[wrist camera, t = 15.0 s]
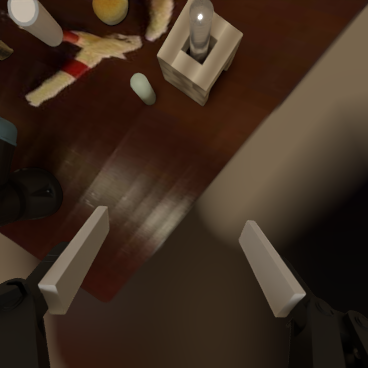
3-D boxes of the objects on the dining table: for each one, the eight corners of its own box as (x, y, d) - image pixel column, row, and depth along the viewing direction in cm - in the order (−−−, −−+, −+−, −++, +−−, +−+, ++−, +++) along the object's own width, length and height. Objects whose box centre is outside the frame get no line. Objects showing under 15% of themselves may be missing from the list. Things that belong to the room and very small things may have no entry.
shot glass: (34, 37, 39) (1, 11, 32) (47, 12, 38) (15, -21, 31) (57, 55, 40) (28, 33, 33) (70, 30, 39) (43, 2, 32)
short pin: (140, 99, 40) (127, 85, 33) (147, 87, 40) (136, 69, 32) (151, 107, 41) (141, 95, 33) (158, 95, 40) (150, 79, 32)
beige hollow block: (164, 78, 39) (156, 55, 30) (191, 33, 37) (191, -6, 29) (203, 106, 40) (206, 91, 31) (231, 63, 38) (243, 34, 29)
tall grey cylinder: (187, 74, 39) (184, 15, 23) (195, 60, 38) (198, -9, 23) (199, 82, 39) (204, 30, 23) (207, 69, 38) (218, 6, 23)
